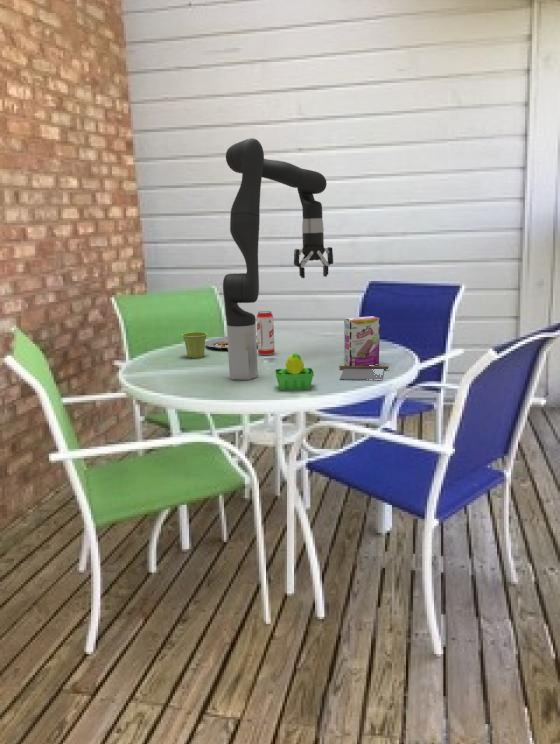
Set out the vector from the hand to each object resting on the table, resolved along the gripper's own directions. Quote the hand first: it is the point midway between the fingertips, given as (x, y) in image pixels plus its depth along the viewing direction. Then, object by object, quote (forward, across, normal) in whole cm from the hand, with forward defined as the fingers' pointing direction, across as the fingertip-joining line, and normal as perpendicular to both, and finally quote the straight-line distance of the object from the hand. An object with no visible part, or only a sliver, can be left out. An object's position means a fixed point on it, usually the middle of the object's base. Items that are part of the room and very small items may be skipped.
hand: (314, 277), depth 236 cm
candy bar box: (+28, -7, +26) cm, 39 cm away
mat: (+28, -2, +38) cm, 47 cm away
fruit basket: (+28, +22, +44) cm, 57 cm away
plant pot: (+28, +43, -14) cm, 53 cm away
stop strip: (+28, -6, +32) cm, 43 cm away
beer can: (+28, +17, -7) cm, 34 cm away
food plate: (+29, +24, -29) cm, 47 cm away
